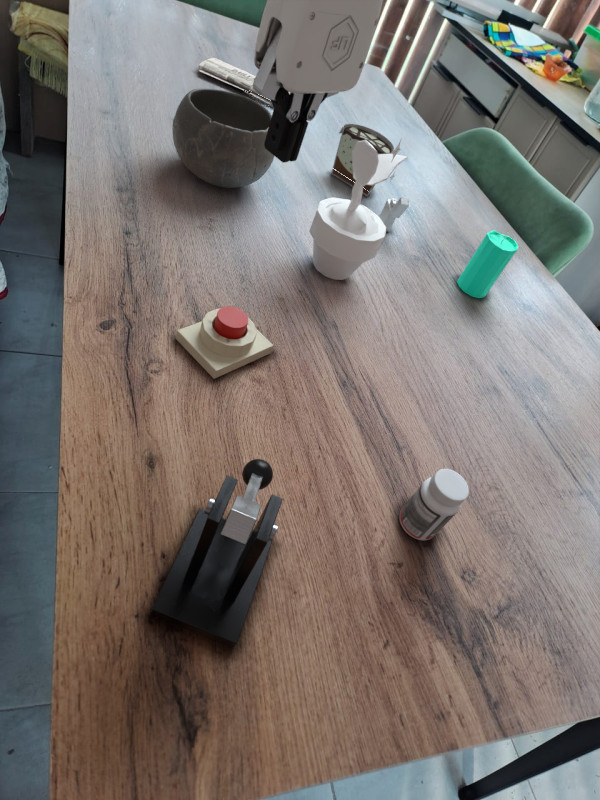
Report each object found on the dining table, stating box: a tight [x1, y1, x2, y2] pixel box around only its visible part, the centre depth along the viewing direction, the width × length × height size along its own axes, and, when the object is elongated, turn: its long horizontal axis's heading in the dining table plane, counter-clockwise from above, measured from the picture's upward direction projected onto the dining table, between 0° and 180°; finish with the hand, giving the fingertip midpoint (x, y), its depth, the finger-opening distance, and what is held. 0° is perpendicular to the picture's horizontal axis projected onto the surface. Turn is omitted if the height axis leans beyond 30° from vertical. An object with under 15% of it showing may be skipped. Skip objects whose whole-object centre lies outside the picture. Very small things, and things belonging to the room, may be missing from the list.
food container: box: [331, 123, 395, 197], centre depth 117 cm, size 12×6×10 cm, turn 56°
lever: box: [221, 458, 274, 544], centre depth 51 cm, size 13×3×3 cm
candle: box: [456, 229, 519, 299], centre depth 102 cm, size 6×6×12 cm
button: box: [214, 305, 249, 339], centre depth 72 cm, size 4×4×2 cm
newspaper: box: [198, 57, 290, 105], centre depth 135 cm, size 23×12×2 cm, turn 73°
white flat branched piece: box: [378, 197, 410, 233], centre depth 107 cm, size 7×2×8 cm, turn 3°
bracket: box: [150, 475, 284, 649], centre depth 49 cm, size 11×8×13 cm
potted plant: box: [308, 137, 408, 281], centre depth 87 cm, size 13×12×25 cm
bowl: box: [172, 88, 275, 189], centre depth 99 cm, size 18×18×13 cm
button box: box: [175, 307, 274, 380], centre depth 74 cm, size 10×8×4 cm
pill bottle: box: [398, 468, 470, 541], centre depth 63 cm, size 5×5×8 cm
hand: (279, 154), depth 56 cm, fingers closed
